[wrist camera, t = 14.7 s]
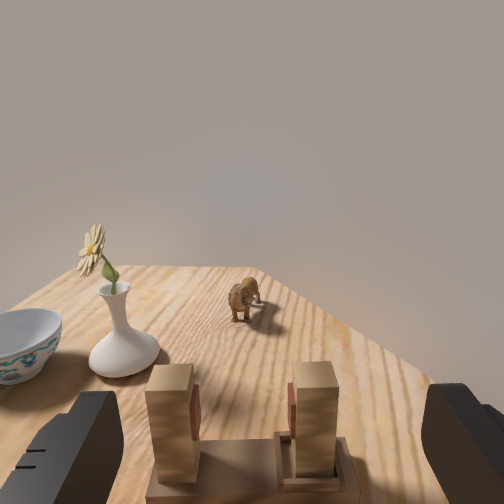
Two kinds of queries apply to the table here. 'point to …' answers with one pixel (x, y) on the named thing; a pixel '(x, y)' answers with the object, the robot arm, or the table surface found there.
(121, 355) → the flower in vase
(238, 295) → the lion figurine
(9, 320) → the chinaware
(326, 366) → the tall wooden pillar
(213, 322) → the table surface
